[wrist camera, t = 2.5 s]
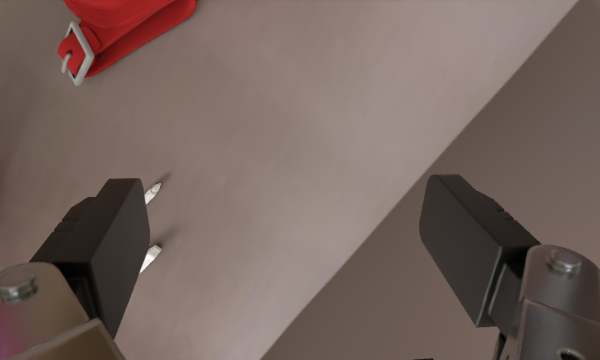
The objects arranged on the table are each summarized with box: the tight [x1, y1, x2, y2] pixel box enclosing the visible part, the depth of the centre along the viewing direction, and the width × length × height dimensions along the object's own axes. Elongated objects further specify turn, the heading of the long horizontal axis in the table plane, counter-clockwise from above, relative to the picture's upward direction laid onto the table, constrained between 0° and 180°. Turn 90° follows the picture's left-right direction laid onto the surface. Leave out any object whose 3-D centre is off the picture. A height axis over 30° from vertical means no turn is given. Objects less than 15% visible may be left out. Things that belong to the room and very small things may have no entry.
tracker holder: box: [58, 0, 197, 86], centre depth 28 cm, size 12×4×10 cm
